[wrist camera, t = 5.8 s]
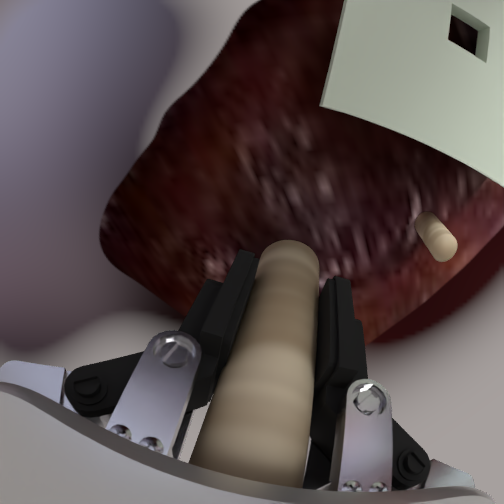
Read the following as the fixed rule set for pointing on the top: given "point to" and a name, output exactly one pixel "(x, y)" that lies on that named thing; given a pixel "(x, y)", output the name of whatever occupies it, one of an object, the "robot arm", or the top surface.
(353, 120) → the top surface
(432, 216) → the short birch pin
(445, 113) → the plate
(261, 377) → the long birch pin
